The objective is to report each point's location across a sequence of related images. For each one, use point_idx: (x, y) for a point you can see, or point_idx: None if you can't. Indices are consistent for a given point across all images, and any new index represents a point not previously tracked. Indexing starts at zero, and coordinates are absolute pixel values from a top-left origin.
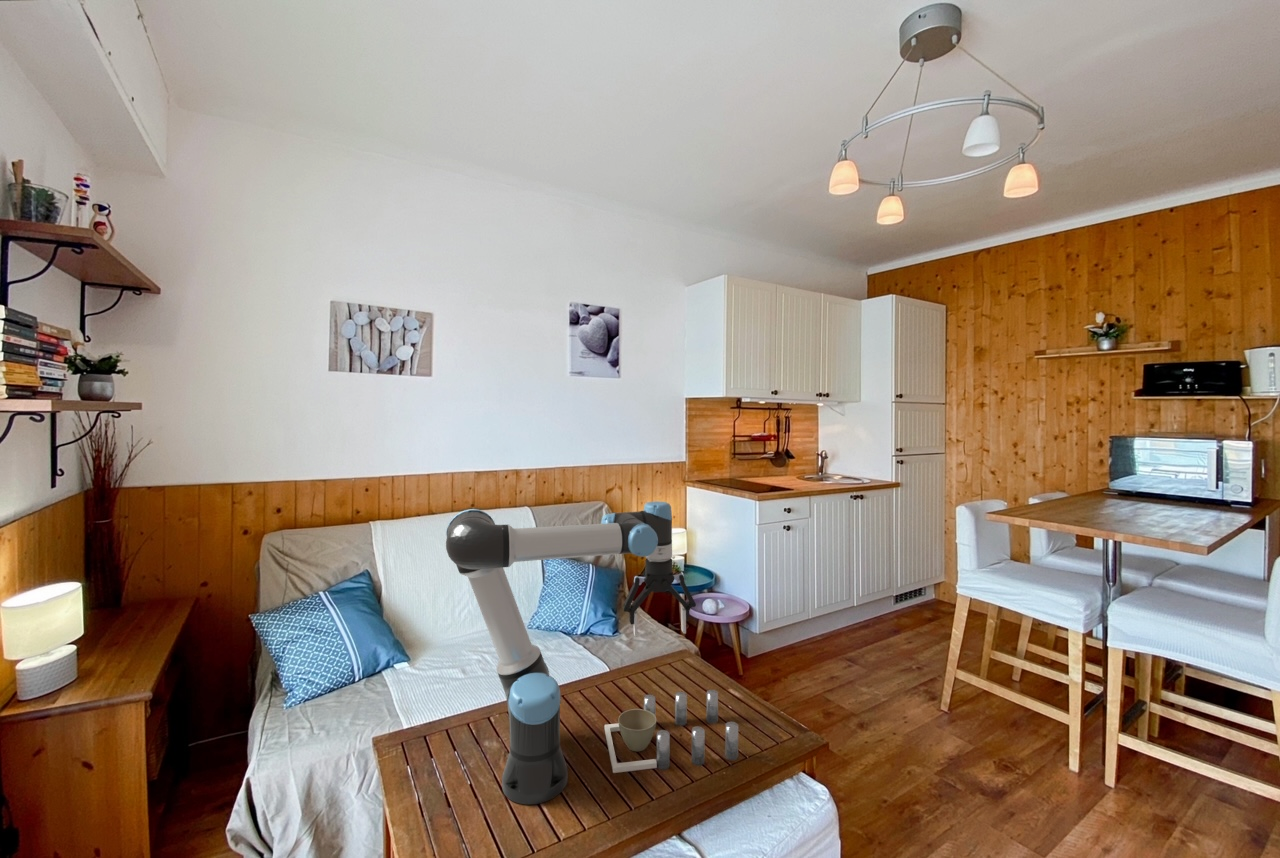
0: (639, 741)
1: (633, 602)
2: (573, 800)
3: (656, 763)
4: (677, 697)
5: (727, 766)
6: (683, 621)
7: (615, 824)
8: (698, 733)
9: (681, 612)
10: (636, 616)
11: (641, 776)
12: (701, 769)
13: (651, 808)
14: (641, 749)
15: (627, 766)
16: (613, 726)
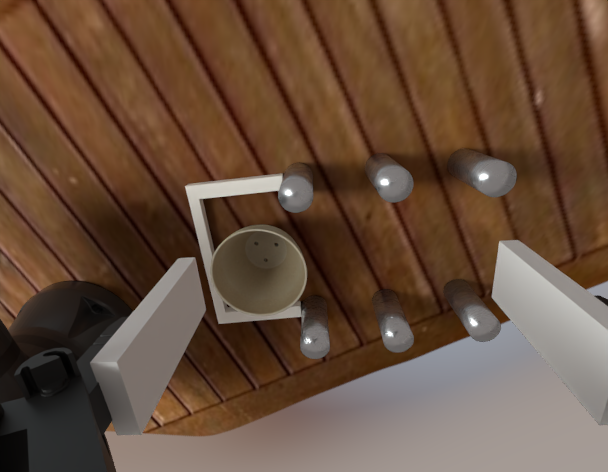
0: (266, 295)
1: (31, 452)
2: None
3: (301, 316)
4: (381, 196)
5: (436, 315)
6: (537, 348)
7: (232, 409)
8: (395, 350)
9: (581, 329)
10: (145, 412)
11: (272, 328)
12: None
13: (285, 389)
14: (274, 271)
15: (245, 321)
16: (208, 194)
